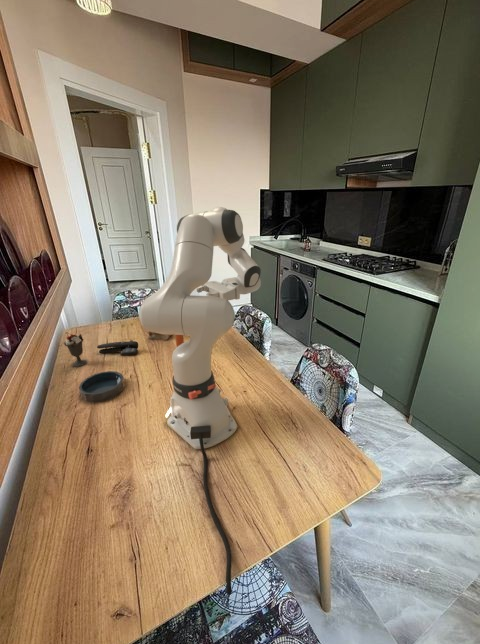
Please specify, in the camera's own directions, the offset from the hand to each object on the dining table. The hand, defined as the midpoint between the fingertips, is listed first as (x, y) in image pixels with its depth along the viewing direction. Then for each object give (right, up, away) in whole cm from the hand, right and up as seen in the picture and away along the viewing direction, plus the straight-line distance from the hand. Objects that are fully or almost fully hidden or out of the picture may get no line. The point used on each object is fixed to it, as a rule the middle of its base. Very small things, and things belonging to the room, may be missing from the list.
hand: (202, 293), depth 125 cm
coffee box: (-24, -20, +16) cm, 35 cm away
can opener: (-36, -26, +1) cm, 45 cm away
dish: (-30, -36, -23) cm, 52 cm away
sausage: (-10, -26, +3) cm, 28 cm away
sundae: (-48, -30, -7) cm, 57 cm away
